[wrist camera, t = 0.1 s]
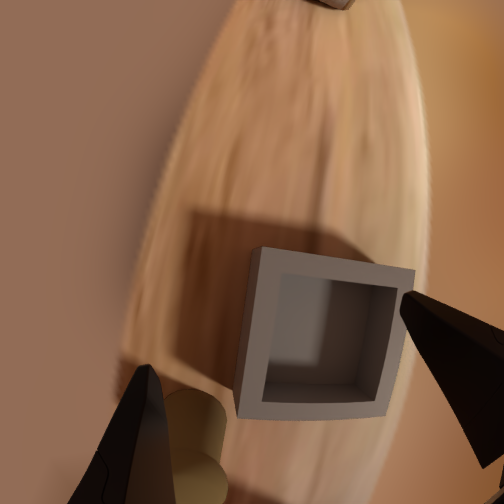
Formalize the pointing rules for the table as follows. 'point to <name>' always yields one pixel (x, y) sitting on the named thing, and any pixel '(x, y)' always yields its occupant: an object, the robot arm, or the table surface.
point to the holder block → (319, 337)
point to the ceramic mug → (339, 3)
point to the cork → (196, 446)
